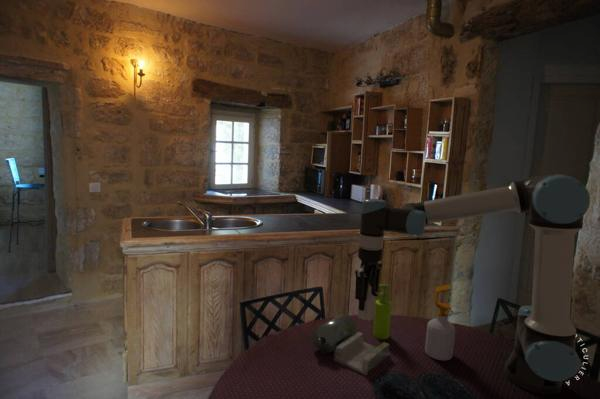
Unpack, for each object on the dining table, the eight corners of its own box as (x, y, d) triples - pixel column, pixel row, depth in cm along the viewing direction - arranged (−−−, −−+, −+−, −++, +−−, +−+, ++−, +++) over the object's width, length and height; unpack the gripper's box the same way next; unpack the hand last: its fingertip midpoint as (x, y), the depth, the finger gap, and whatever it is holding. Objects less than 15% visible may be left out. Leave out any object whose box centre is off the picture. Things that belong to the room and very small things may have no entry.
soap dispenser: (367, 332, 141) (371, 282, 138) (383, 330, 143) (387, 281, 140) (375, 340, 136) (379, 288, 133) (391, 338, 138) (396, 286, 135)
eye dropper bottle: (368, 313, 125) (371, 279, 123) (374, 321, 119) (377, 285, 118) (356, 313, 124) (358, 279, 122) (361, 321, 118) (364, 285, 117)
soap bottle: (455, 363, 123) (462, 292, 120) (426, 358, 125) (433, 289, 122) (449, 349, 132) (456, 283, 129) (423, 345, 134) (429, 280, 130)
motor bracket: (389, 355, 126) (391, 330, 125) (362, 378, 112) (364, 351, 111) (336, 332, 140) (337, 310, 139) (306, 351, 126) (307, 326, 125)
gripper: (372, 240, 127) (367, 305, 130) (346, 249, 114) (341, 321, 118) (393, 245, 122) (387, 312, 126) (368, 254, 110) (362, 329, 113)
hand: (365, 316), depth 122 cm, fingers closed on eye dropper bottle, 4 cm apart
